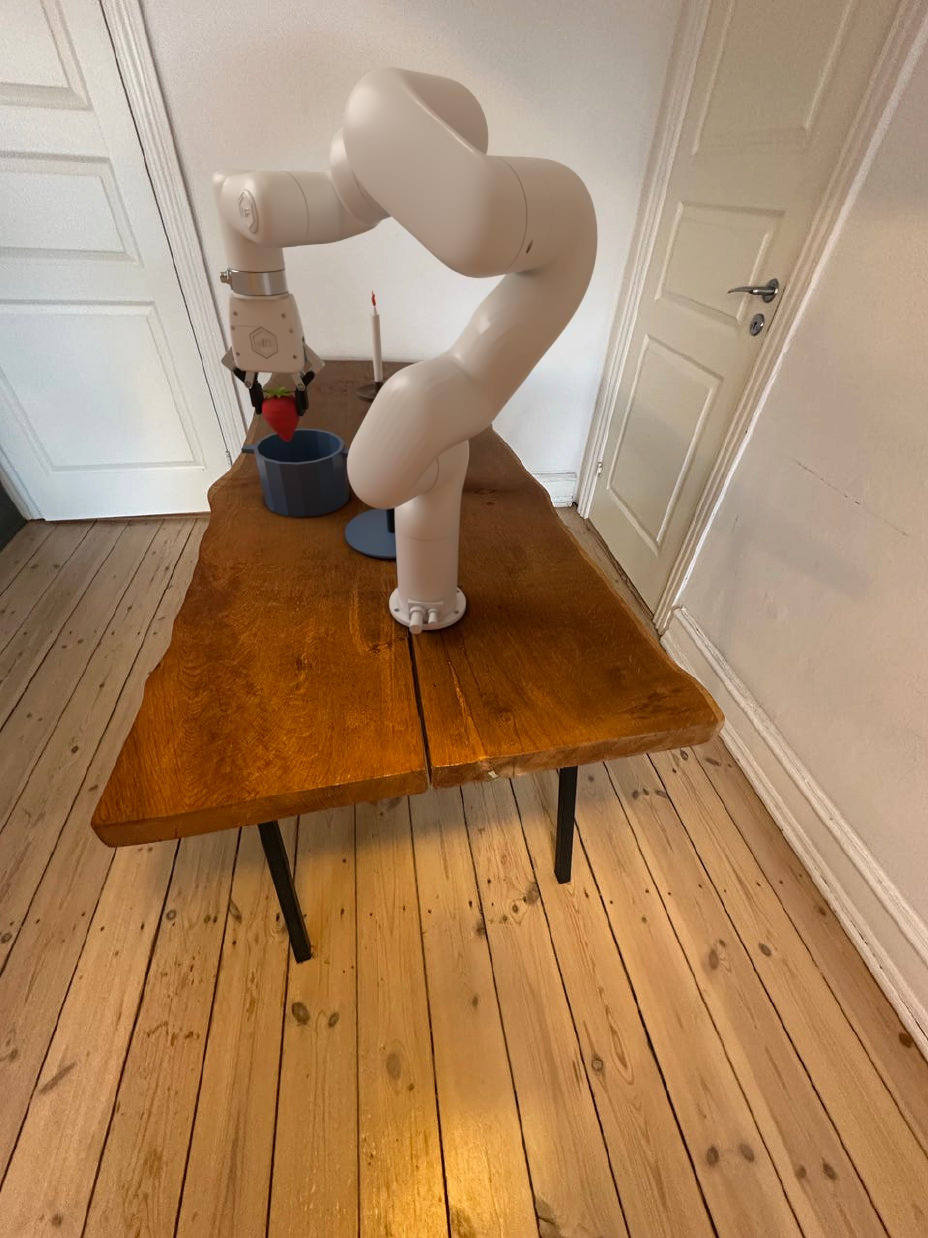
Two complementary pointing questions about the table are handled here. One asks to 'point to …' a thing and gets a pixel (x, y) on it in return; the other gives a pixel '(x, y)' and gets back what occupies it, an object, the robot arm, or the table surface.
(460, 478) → the robot arm
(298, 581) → the table surface
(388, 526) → the lid
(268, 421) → the strawberry
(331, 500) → the pot
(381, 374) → the candlestick
